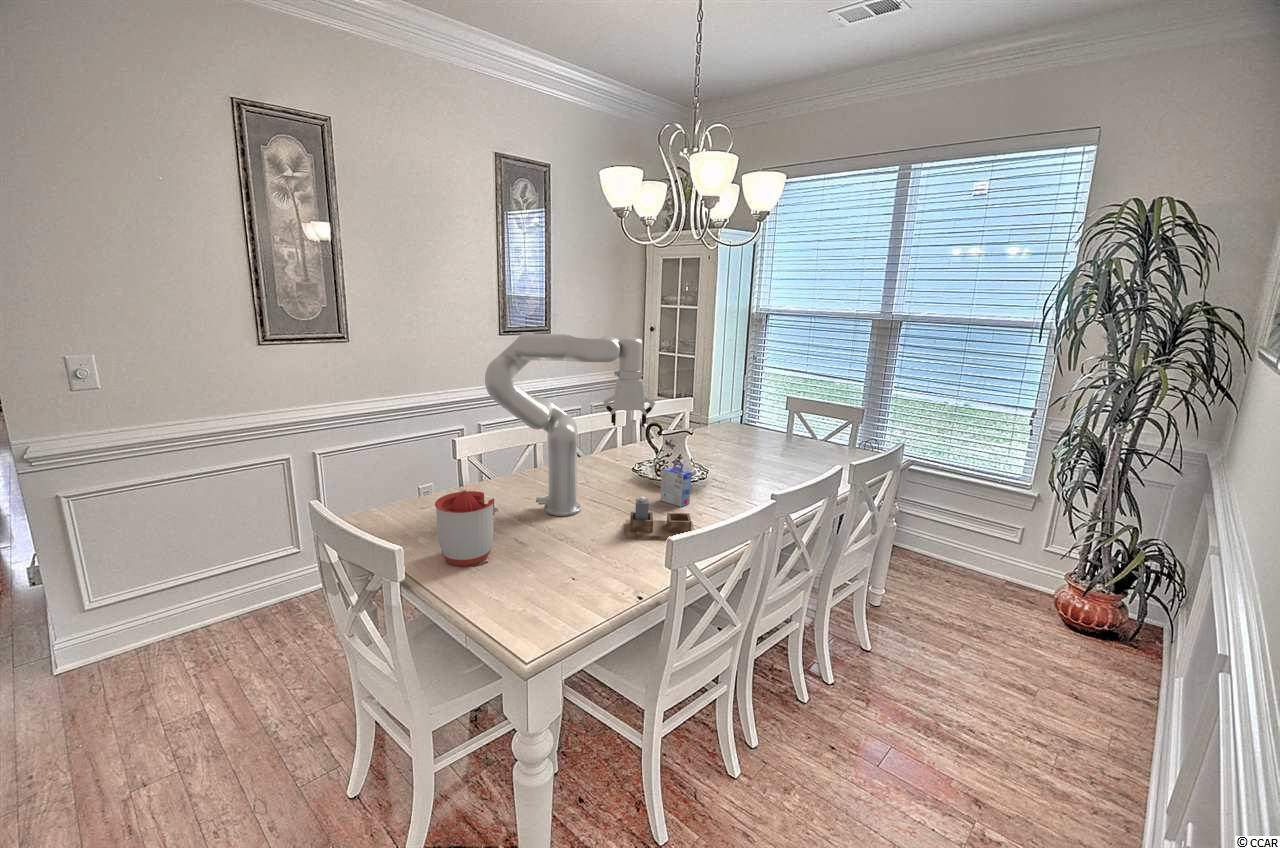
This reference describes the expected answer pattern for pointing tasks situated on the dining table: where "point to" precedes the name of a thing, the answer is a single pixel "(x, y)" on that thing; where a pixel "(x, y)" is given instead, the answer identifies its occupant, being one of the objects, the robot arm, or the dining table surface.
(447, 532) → the citrus juicer
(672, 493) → the ink cartridge box
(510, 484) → the dining table surface
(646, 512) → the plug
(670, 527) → the socket board
